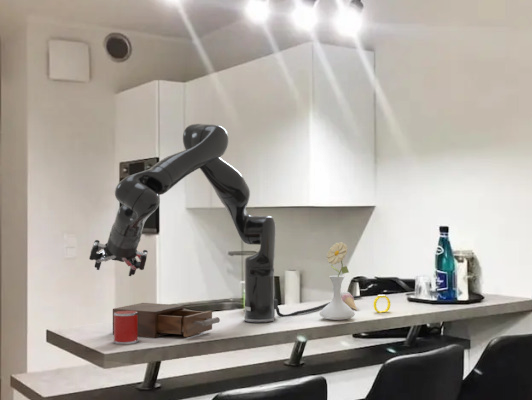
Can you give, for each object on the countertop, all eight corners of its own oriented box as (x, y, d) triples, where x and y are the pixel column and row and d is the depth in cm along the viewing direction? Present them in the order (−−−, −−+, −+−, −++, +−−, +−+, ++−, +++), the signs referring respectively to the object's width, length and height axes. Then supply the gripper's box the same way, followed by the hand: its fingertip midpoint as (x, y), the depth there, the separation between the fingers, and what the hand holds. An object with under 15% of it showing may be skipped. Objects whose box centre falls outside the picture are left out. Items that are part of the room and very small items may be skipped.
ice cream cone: (365, 312, 247) (351, 297, 261) (360, 301, 245) (346, 287, 259) (353, 319, 246) (339, 303, 260) (348, 308, 244) (335, 293, 258)
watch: (387, 311, 244) (387, 294, 244) (391, 312, 241) (391, 294, 241) (372, 312, 241) (372, 295, 241) (376, 313, 239) (376, 295, 239)
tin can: (124, 339, 193) (124, 310, 193) (142, 341, 191) (142, 311, 191) (109, 343, 188) (109, 313, 188) (127, 345, 185) (127, 314, 185)
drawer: (224, 330, 201) (224, 311, 201) (200, 338, 190) (200, 318, 190) (173, 326, 209) (173, 308, 209) (146, 333, 197) (146, 314, 197)
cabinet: (183, 329, 208) (183, 305, 208) (154, 337, 195) (154, 311, 195) (142, 326, 214) (142, 302, 214) (112, 334, 201) (112, 308, 201)
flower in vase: (314, 317, 230) (314, 240, 230) (346, 315, 234) (346, 240, 234) (329, 323, 218) (329, 242, 218) (363, 321, 222) (362, 242, 222)
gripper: (155, 230, 184) (142, 264, 196) (99, 218, 180) (90, 253, 192) (151, 253, 180) (138, 287, 191) (93, 241, 175) (84, 276, 187)
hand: (114, 270), depth 191 cm, fingers open, 8 cm apart
